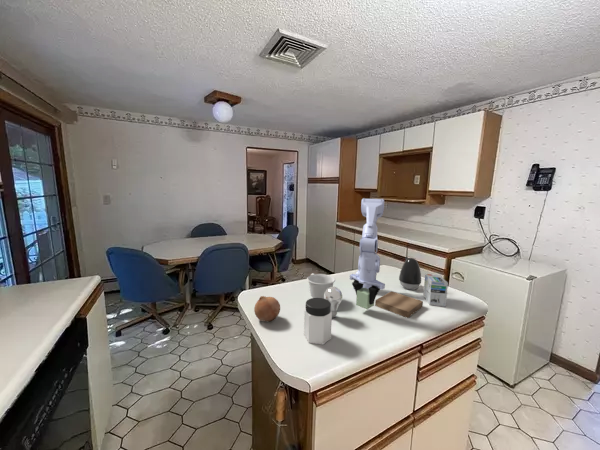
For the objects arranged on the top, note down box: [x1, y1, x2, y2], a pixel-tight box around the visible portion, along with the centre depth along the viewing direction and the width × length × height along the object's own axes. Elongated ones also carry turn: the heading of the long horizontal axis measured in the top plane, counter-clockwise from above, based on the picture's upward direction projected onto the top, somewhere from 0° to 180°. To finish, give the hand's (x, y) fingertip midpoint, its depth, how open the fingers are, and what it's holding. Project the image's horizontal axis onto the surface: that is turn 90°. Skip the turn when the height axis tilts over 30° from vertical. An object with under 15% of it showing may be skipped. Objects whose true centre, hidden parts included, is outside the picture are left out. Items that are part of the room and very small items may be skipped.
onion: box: [253, 295, 281, 323], centre depth 96 cm, size 10×9×10 cm
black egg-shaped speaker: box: [398, 256, 422, 291], centre depth 129 cm, size 10×10×15 cm
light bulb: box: [324, 286, 343, 319], centre depth 98 cm, size 7×7×12 cm
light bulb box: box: [423, 273, 449, 308], centre depth 115 cm, size 11×7×11 cm, turn 168°
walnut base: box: [374, 290, 424, 319], centre depth 109 cm, size 14×14×2 cm
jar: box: [303, 297, 333, 345], centre depth 85 cm, size 9×8×12 cm
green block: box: [355, 288, 375, 310], centre depth 103 cm, size 5×5×6 cm
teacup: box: [306, 273, 336, 299], centre depth 114 cm, size 12×15×10 cm
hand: (365, 301), depth 103 cm, fingers closed on green block, 5 cm apart
